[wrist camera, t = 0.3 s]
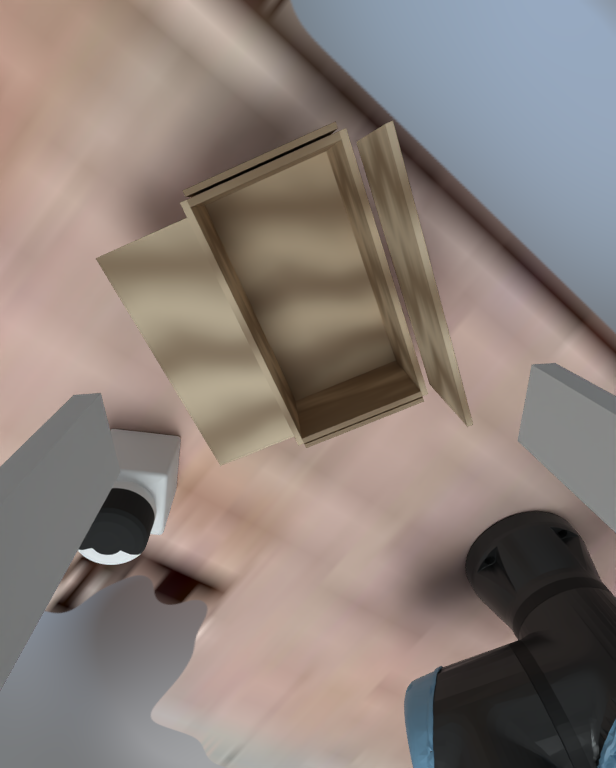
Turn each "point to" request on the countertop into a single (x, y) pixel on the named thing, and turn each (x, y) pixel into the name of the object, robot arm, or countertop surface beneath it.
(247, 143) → the countertop surface
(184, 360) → the carton
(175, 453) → the medicine bottle
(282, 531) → the countertop surface
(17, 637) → the robot arm
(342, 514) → the countertop surface
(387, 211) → the flap
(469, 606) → the countertop surface
